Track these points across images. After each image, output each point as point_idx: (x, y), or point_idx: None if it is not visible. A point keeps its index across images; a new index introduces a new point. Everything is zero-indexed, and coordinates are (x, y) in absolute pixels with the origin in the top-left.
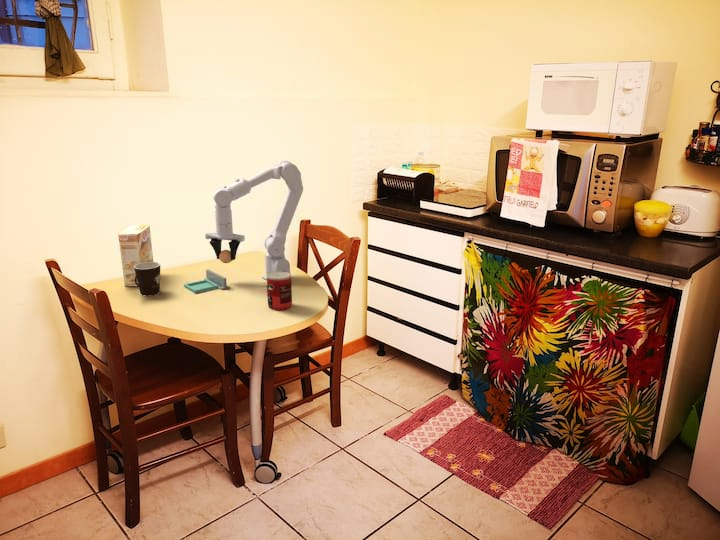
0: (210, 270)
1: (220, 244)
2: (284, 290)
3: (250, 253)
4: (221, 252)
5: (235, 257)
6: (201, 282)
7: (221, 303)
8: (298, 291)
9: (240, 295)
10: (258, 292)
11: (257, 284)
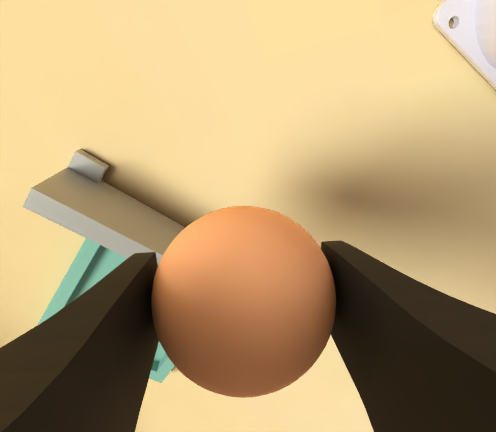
0: (77, 215)
1: (69, 406)
2: None
3: None
4: (205, 388)
5: (352, 249)
6: (91, 261)
7: (331, 410)
8: None
9: None
10: (453, 276)
11: (425, 168)
